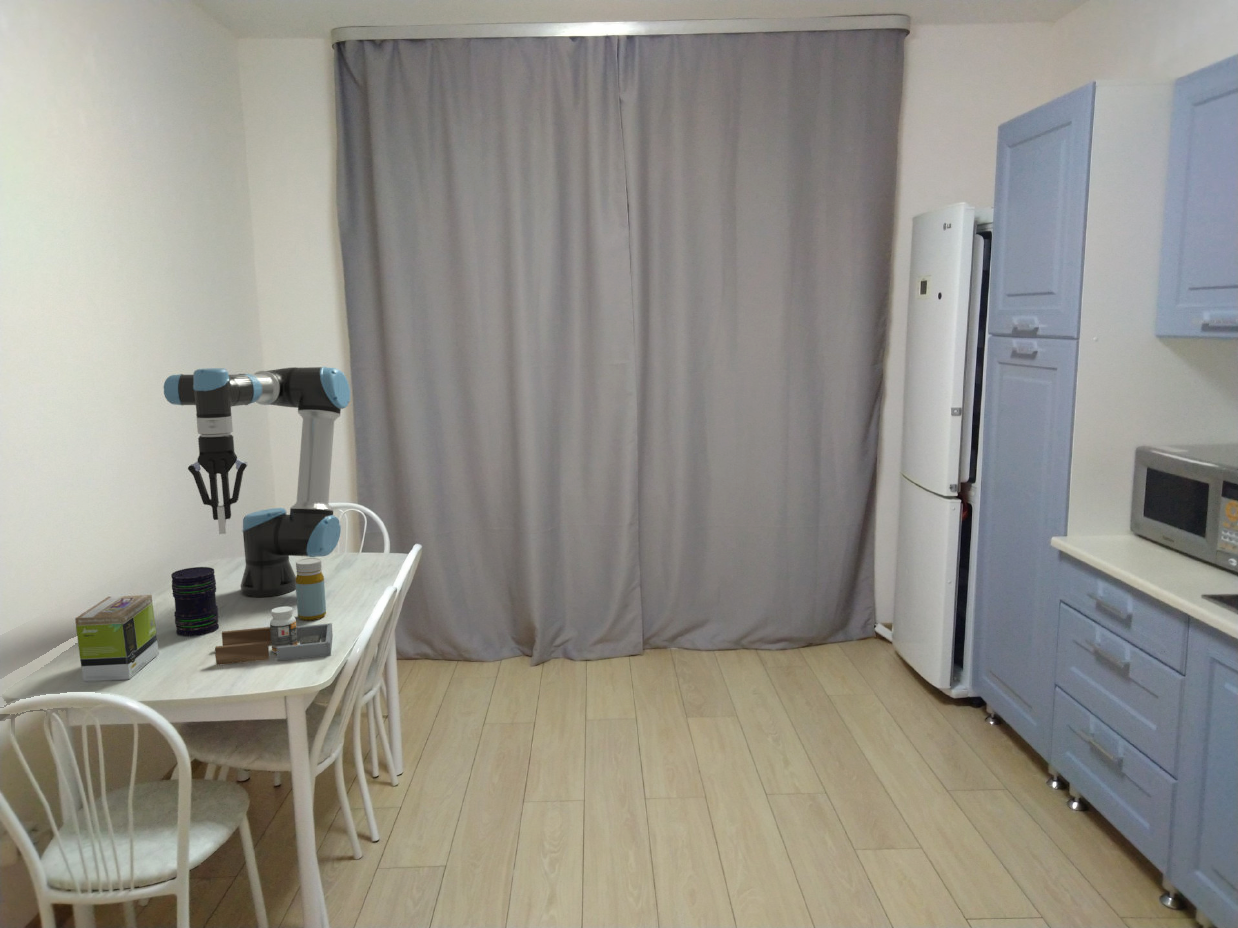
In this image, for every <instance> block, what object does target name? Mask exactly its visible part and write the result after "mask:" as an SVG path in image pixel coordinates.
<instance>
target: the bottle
mask: <svg viewBox="0 0 1238 928" xmlns="http://www.w3.org/2000/svg"><path fill="white" fill-rule="evenodd" d="M295 570H296V575H295V576H296V579H295V581H296V582H295V583H296V589H295V593H296V594H295V596H296V610H297V612H296V613H297V617H298V618H299V619H300V620H301V621H317V620H320V619H322V618H324V617H325V616H326V614H327V603H326V590H325V577H324V575H323V574H324V573H323V572H322V570H323V568H322V559H321V558H319V557H317V558H316V557H307V558H301V559H299V560H296V561H295Z"/></svg>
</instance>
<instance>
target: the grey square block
mask: <svg viewBox="0 0 1238 928" xmlns="http://www.w3.org/2000/svg"><path fill="white" fill-rule="evenodd" d="M299 641H300V642H299V644H308V643H318V642H321V637H320V635H317V636H305V637H302V638H301V639H300V640H299Z"/></svg>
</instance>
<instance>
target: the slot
mask: <svg viewBox="0 0 1238 928" xmlns="http://www.w3.org/2000/svg"><path fill="white" fill-rule="evenodd" d="M221 642H222V645H219V646H218V645H217V646H215V647H214V653H215V654H214V655H215V665H216V666H221V665H222V666H223V665H224V666H225V665H231V664H242V663H250V662H251V663H252V662H260V661H269V660H270V650H269V649H270V648H269V645H271V632H270V626H267V627H256V628H255V627H254V628H246V629H244V628H243V629H235V630H234V629H233V630H225V631H222V632H221ZM271 646H272V645H271Z"/></svg>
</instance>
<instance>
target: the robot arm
mask: <svg viewBox="0 0 1238 928" xmlns="http://www.w3.org/2000/svg"><path fill="white" fill-rule="evenodd" d="M162 388H163V395H164V398H165V399H166V401H167V402H169V403H170V404H171V405H175V406H195V411H196V428H197V434H199V436H198V437H197V439H198V441H197V442H198V452H199V454H198V456H197V461H195V462H194V463H192V464H190V465H188V467H187V470H188V471H189V472H190V473H191V474H192V476H193V479H194V482H195V484H196V487H197V489H198V492H199V495H200V498H201V501H202V504H203V505H206V506H210V507H211V510H212V519H213V521H217V523H218V524H217V525H218V534H219V535H226V534H227V533H228V520H230V519H231V517H232V509H231V506H232V505H233V504H236V503H237V502H238V501H239V498H240V492H241V487H242V482H243V474H244V471H245V469H246V468H247V467H248V462H246V461H242V460H240V459H239V458H238V455H236V452H235V443H234V435H233V434H231V433H232V432H234V431H233V430H234V429H233V427H234V426H233V416H232V407H237V406H248V405H251V404H254V403H256V404H259V405H263V406H278V407H285V408H296V409H297V414H299V416H300V417H301V418H302V422H301V423H302V424H301V425H302V426H301V438H300V439H301V440H300V450H299V451H300V453H299V464H298V465H299V466H298V467H299V468H298V478H297V490H296V491H297V492H296V493H297V494H296V502H295V503H294V504H293V505H292V506H291V507H290V509H289V511H290V512H289V514H287V510H286V509H285V508H284V507H276V508H268V509H262V510H258V511H254V512H251V513H248V514H245V516H244V517H243V518H242V530H241V532H242V534H243V535H242V536H243V548H244V559H245V560H244V561H245V567H244V572H243V575H242V579H241V583H240V593H241V594H242V595H243V596H245V597H251V598H253V597H255V598H264V597H266V598H267V597H274V596H280V595H284V594H288V593H290V592H292V591H296V583H295V582H296V581H295V579H296V576H297V575H296V574H295V571H294V569H293V567H292V564H291V562H290V556H291V557H292V556H293V557H308V558H316V557H317V558H319V557H320V558H321V557H327V556H329V555H331V554H332V553H333V552H334V550H335V549H336V547H337V545H338V543H339V541H340V538H341V530H342V528H341V527H342V526H341V524H340V523H341V522H340V519H339V518H338V517H337V516H335V515H334V509H333V508H332V507H331V505H330V504H329V501H330V500H329V499H330V489H331V488H330V486H331V485H330V484H331V475H332V474H331V472H332V471H331V470H332V459H333V443H334V432H335V431H334V430H335V429H334V428H335V421H336V420H338V419H339V418H340V416H341V410H343V409H345V408H347V407H348V405H349V403H350V401H351V390H350V384H349V381H348V379H347V377H346V375H345V374H344V372H343V371H341V370H340V369H338V368H336V367H327V366H322V367H319V366H317V367H316V366H315V367H311V366H310V367H294V366H293V367H284V368H276V369H271V370H260V371H257V372H255V373H253V374H250V373H239V374H237V373H236V374H235V373H233V374H229V371H228V370H227V369H226V368H221V367H219V368H218V367H215V368H212V367H211V368H197V369H196V370H194V372H193V374H183V373H179V374H172V375H169V376H168V377H167V378H166V379H165V380H164V383H163V387H162ZM234 465H235V469H236V470H237V471H236V475H235V479H234V485H233V490H232V496H231V494H230V481H229V472H230V471H231V469H232V468H233V467H234ZM201 467H202V468H203V469H204V471H205V472H206V473H207V474H208V479H209V489H210V496H209V493H208V489H207V488H206V484H205V482H204V479H203V477H202V474H201ZM218 474H220V478H221V488H222V489H221V490H222V500H223V501H222V502H223V504H220V501H219V492H218V491H219V490H218V478H217V477H218Z"/></svg>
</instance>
